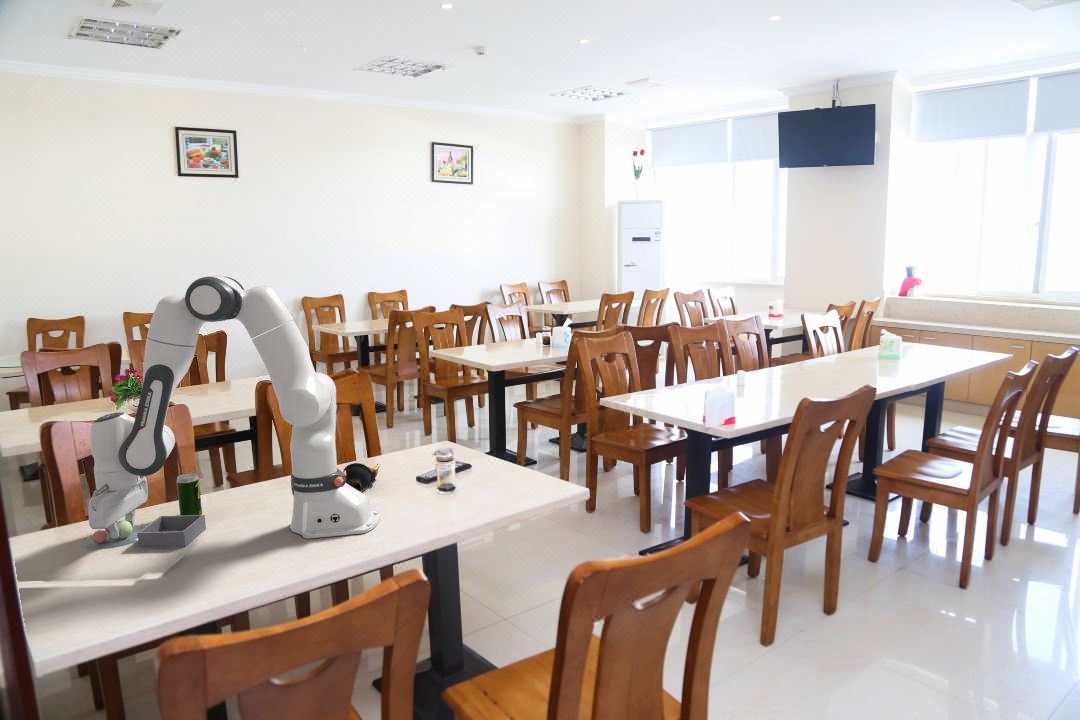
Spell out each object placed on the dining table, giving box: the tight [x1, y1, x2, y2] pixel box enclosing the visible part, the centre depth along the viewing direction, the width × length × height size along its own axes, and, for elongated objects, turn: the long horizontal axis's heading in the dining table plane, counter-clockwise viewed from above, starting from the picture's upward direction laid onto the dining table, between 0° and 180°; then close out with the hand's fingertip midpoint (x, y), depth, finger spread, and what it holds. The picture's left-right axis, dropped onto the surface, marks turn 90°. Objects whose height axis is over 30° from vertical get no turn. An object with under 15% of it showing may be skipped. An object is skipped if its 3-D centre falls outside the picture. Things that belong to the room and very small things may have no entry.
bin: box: [137, 514, 207, 549], centre depth 186 cm, size 11×11×5 cm
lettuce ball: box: [117, 520, 132, 539], centre depth 187 cm, size 4×4×4 cm
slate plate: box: [82, 524, 147, 550], centre depth 189 cm, size 15×15×1 cm
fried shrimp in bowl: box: [342, 462, 381, 492], centre depth 226 cm, size 9×11×18 cm
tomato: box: [91, 529, 107, 544], centre depth 184 cm, size 3×3×3 cm
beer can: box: [176, 473, 203, 516], centre depth 201 cm, size 5×5×12 cm
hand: (122, 532), depth 187 cm, fingers closed on lettuce ball, 4 cm apart
